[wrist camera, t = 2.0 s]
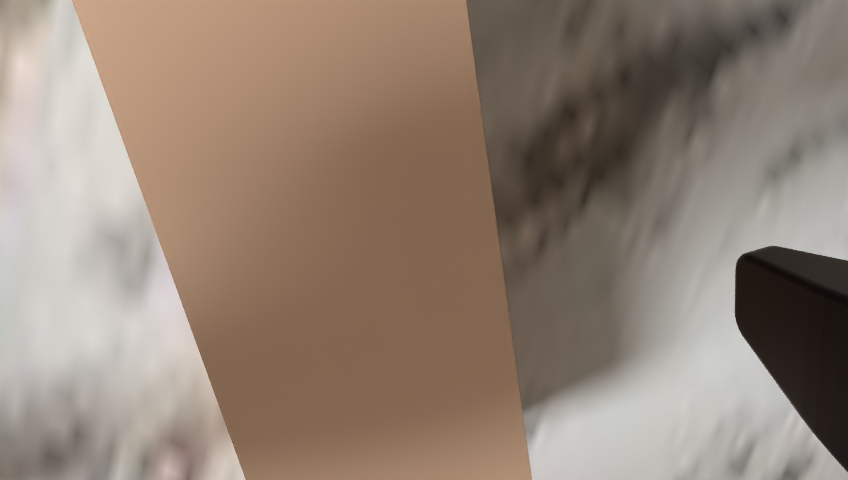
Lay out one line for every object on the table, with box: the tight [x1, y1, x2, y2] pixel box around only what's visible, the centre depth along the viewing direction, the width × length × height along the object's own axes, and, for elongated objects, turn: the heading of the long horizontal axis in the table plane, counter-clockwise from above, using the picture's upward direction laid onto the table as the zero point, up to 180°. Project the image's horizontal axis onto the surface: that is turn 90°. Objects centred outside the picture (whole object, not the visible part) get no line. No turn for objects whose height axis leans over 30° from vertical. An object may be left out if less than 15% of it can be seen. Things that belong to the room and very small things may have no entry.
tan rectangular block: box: [72, 0, 532, 480], centre depth 11 cm, size 10×4×4 cm, turn 10°
